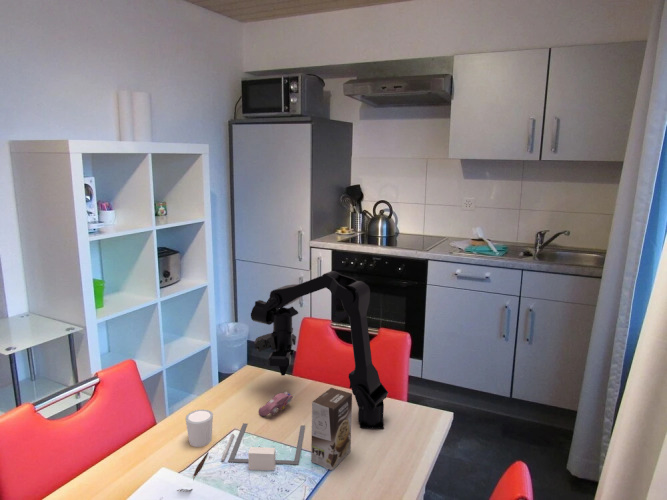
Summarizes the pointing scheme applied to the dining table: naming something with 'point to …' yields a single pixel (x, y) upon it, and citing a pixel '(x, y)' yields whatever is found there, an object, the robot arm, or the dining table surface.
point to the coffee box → (331, 428)
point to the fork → (198, 468)
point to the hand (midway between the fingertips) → (283, 375)
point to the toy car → (276, 404)
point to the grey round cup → (199, 427)
